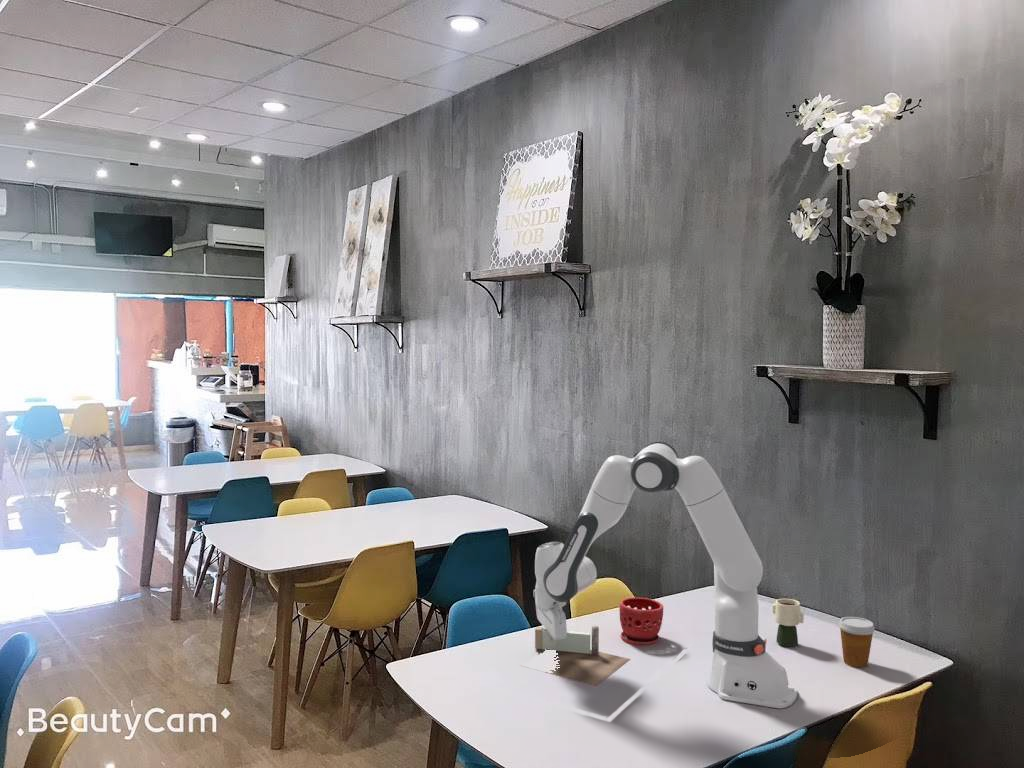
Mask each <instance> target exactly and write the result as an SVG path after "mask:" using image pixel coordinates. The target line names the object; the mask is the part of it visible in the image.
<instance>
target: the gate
mask: <svg viewBox="0 0 1024 768" xmlns="http://www.w3.org/2000/svg"><path fill="white" fill-rule="evenodd" d="M555 642H556V645H555V646H550V645H549V644H548V636H547V630H546V629H545V628H544V627H543V626H542V627H539V626H536V627H535V630H534V648H535V650H545V649H546V650H556V651H567V652H577V653H588V654H590V650H591V632H583V631H582V632H581V631H570V630H569V631H568V630H567V637H566V639H565V640H559V641H555Z"/></svg>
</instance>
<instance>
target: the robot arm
mask: <svg viewBox="0 0 1024 768" xmlns="http://www.w3.org/2000/svg"><path fill="white" fill-rule="evenodd" d="M718 476H719V475H717V473H716V472H715V470H714V469H713V467H712V466H711V465H710V463H709V462H708V461H707V460H706V459H705V458H704V457H702V456H700V455H690V456H687V457H684V458H679V455H678V452H677V450H676V449H675V448H674V447H673V445H671V444H669V443H667V442H665V441H655V442H652V443H649V444H647V445H646V446H644V447H642V449H640V450H638V452H636V453H634V455H633V458H630V457H627V456H624V455H620V454H619V455H611V456H608V457H607V459H606V460H605V461H604V463H603V464H602V466H601V467H600V468H599V471H598V472H597V474H596V475H595V478H594V480H593V482H592V484H591V487H590V489H589V492H588V494H587V497H586V499H585V500H584V501H585V502H584V503H583V506H582V508H581V511H580V513H579V515H578V517H577V519H576V521H575V523H574V525H573V526H572V529H570V530H571V531H570V532H569V534H568V537H567V539H566V540H565V543H563V542H561V541H549V542H544V543H542V544H540V545H539V546H538V547H537V548H536V550H535V551H536V552H535V557H534V558H535V559H534V574H535V579H536V581H535V587H534V589H533V598H534V601H535V603H534V604H535V611H536V612H535V613H536V618H537V620H538V621H539V623H540V624H541V625H542V627H543V629H546V630H547V636H548V644H549V645H550V646H555V645H556V642H555V641H559V640H565V639H566V637H567V631H568V630H567V629H568V628H567V618H566V613H565V611H564V610H563V607H565V606H566V605H567V602H569V601H570V600H571V599H573V598H574V597H575V596H577V595H579V594H580V593H583V592H584V591H586V590H588V589H589V588H590V587H591V586H593V585H595V583H596V581H597V577H598V572H597V571H598V570H597V567H596V564H595V563H594V561H593V560H592V559H591V558H590V557H588V556H586V555H587V553H588V551H589V549H590V547H591V546H592V544H593V543H594V542H595V541H596V540H597V538H598V537H600V536H601V535H602V534H604V533H605V532H606V531H608V530H609V529H611V528H612V527H613V526H615V525H616V524H617V523H618V522H619V521H620V519H621V518H622V517H623V515H624V514H625V512H626V510H627V508H628V505H629V503H630V501H631V498H632V496H633V494H634V493H635V490H636V489H639V490H641V491H643V492H645V493H657V492H663V491H665V492H666V491H672V490H674V489H675V490H676V491H677V492H678V493H679V495H680V497H681V499H682V501H683V503H684V505H685V508H686V510H687V511H688V513H689V516H690V517H691V520H692V522H693V523H694V525H695V528H696V530H697V531H698V533H699V535H700V537H701V539H702V541H703V544H704V545H705V548H706V550H707V552H708V554H709V557H711V560H712V562H713V577H714V579H713V583H714V585H713V586H714V606H715V607H714V630H713V632H712V642H711V643H712V645H711V646H712V652H713V655H712V656H713V657H712V664H711V668H710V669H711V671H710V673H709V677H708V679H707V680H708V681H707V686H708V687H709V688H710V689H711V690H712V691H714V692H715V693H716V694H717V695H718V696H719V698H720V699H722V700H725V701H733V702H737V703H743V704H744V703H745V704H749V705H755V706H756V705H757V706H761V707H769V708H774V709H785V708H787V707H790V706H791V705H793V704H794V703H795V701H796V700H797V697H798V690H797V688H796V686H794V685H793V684H789V679H788V674H787V671H786V669H785V667H784V666H783V665H782V664H781V663H779V662H778V661H777V660H776V659H775V658H773V657H772V656H771V655H770V654H769V652H768V651H766V645H767V638H765V639H762V637H761V636H760V635H759V610H760V609H759V600H758V586H759V584H760V583H761V581H762V578H763V574H764V573H763V572H764V569H763V568H764V566H763V562H762V559H761V557H760V556H759V554H758V552H757V550H756V548H755V546H754V544H753V542H752V541H751V538H750V536H749V534H748V532H747V531H746V529H745V527H744V525H743V523H742V521H741V519H740V517H739V515H738V513H737V511H736V508H735V507H734V505H733V503H732V501H731V499H730V497H729V495H728V493H727V491H726V489H725V487H724V485H723V484H722V482H721V480H720V478H719V477H718Z"/></svg>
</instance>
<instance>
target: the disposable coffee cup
mask: <svg viewBox="0 0 1024 768" xmlns="http://www.w3.org/2000/svg"><path fill="white" fill-rule="evenodd" d="M838 627H839V629H840V636H841V637H840V639H841V648H842V657H843V659H842V660H843V663H844V664H845V665H847V666H849V667H852V668H860V669H861V668H866V667H868V665H869V659H870V653H871V647H872V641H873V635H874V632H875V629H876V627H875V626H874V623H873V621H871V620H869V619H866V618H863V617H857V616H845V617H841V618H840V620H839V622H838Z"/></svg>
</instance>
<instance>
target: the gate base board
mask: <svg viewBox="0 0 1024 768" xmlns="http://www.w3.org/2000/svg"><path fill="white" fill-rule="evenodd" d="M599 632H600V631H599V626H596V625H593V626H591V649H590V654H588V653H577V652H567V651H556V653H558V655H556V657H557V656H558V657H559V658H557V659H556V660H560V661H558V663H559V664H556V665H560V666H556V667H560V668H558V669H557V668H555V670H556V671H554V670H550V671H552V672H553V673H548V672H545V674H550V675H553V676H557V677H561V678H564V679H569V680H571V681H572V680H574V681H577V682H580V683H585V684H589V685H592V686H596V687H598V686H599V685H601V683H603V682H604V681H605V680H606V679H608V678H609V677H611V675H613V674H614V673H615V672H617V671H618V670H619V669H620V668H621V667H623V666H624V665H625V664H627V663H628V662H629V661H630V660H631V658H628V657H624V656H620V655H619V656H618V655H616V654H615V655H614V654H610V653H606V652H602V651H599V650H600V649H599V647H600V646H599V641H600V640H599V639H600V638H599V637H600V636H599V635H600V634H599ZM556 657H554V658H556ZM556 660H554V661H556Z"/></svg>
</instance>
